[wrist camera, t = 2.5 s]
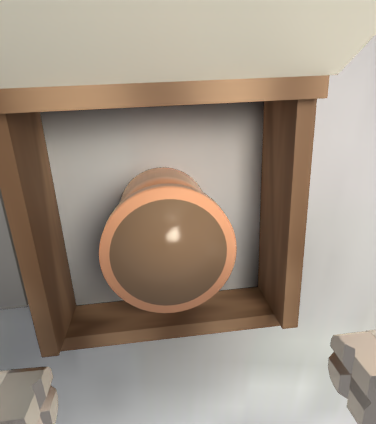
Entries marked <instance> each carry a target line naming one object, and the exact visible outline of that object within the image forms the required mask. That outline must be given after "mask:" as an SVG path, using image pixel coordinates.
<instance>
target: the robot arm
mask: <svg viewBox="0 0 376 424" xmlns="http://www.w3.org/2000/svg"><path fill="white" fill-rule="evenodd" d="M330 346H331V348H332V349H333V351H334V352H333V354H332V355H331V356H330V357H329V360H328V370H329V375H330V379H331V381H332V383H333V386H334V387H335V389H336V390H337V392H338V393H339V394H341V395H342V396H344V397H345V398H347V408H348V410H349V411H350V413H351V414H352V416H353V417H354V419H355V420H356V422H357V424H376V330H369V331H362V332H354V333H346V334H337V335H333V337H332V338H331V343H330ZM52 380H53V374H52V370H51V368H50V367H36V368H24V369H12V370H6V371H0V424H55V422H56V419H57V412H58V395H57V390H56V389H55V388H54V387H52V386H51V382H52Z"/></svg>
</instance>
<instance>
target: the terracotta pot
mask: <svg viewBox="0 0 376 424" xmlns="http://www.w3.org/2000/svg"><path fill="white" fill-rule="evenodd" d="M235 259H236V239H235V234H234V231H233V228H232V225H231V224H230V222H229V220H228V218H227V217H226V215H225V214H224V212H223V211H222V209H221V208H220V207H219V205H218V204H217V203H216V202H215V201H214V200H213V199H212V198H210V197H209V196H208V195H206V194H205V193H203V192H202V190H201V189H200V187H199V185H198V184H197V183H196V182H195V181H194V180H193V179H192V178H191V177H190V176H189V175H187V174H185V173H184V172H182V171H179V170H176V169H173V168H153V169H150V170H147V171H144V172H142V173H141V174H139V175H137V176H136V177H135V178H133V179H132V180H131V181H130V182H129V184H128V185H127V186H126V188H125V190H124V192H123V194H122V196H121V200H120V203H119V204H118V205H117V206H116V208H115V209H114V210H113V212H112V213H111V215H110V216H109V218H108V220H107V222H106V225H105V227H104V230H103V233H102V236H101V240H100V245H99V262H100V266H101V270H102V273H103V275H104V278H105V280H106V281H107V283H108V285H109V286H110V287H111V289H112V290H113V291H114V292H115V293H116V294H117V295H118V296H119V297H120V298H122V299H123V300H124V301H125V302H127V303H129V304H131V305H132V306H135V307H137V308H139V309H142V310H146V311H150V312H155V313H175V312H181V311H185V310H188V309H191V308H194V307H196V306H198V305H200V304H202V303H204V302H206V301H207V300H208V299H210V298H211V297H213V296H214V295H215V294H216V293H217V292H218V291H219V290H220V289H221V288H222V287H223V285H224V284H225V282H226V281H227V280H228V278H229V276H230V274H231V272H232V269H233V267H234V263H235Z"/></svg>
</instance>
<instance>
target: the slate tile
mask: <svg viewBox="0 0 376 424" xmlns="http://www.w3.org/2000/svg"><path fill="white" fill-rule="evenodd" d="M28 304H29V303H28V299H27V295H26V291H25V287H24V283H23V279H22V275H21V271H20V267H19V263H18V259H17V255H16V250H15V246H14V242H13V238H12V234H11V230H10V226H9V222H8V218H7V214H6V210H5V206H4V202H3V197H2V193H1V189H0V310H1V309H11V308H21V307H27V306H28Z"/></svg>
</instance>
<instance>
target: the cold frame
mask: <svg viewBox="0 0 376 424" xmlns="http://www.w3.org/2000/svg"><path fill="white" fill-rule="evenodd" d="M328 85H329V75H322V76H298V77H274V78H249V79H225V80H200V81H176V82H151V83H127V84H102V85H78V86H53V87H29V88H5V89H0V189H1V193H2V197H3V202H4V206H5V210H6V214H7V218H8V222H9V226H10V230H11V234H12V238H13V242H14V246H15V250H16V255H17V259H18V263H19V267H20V271H21V275H22V279H23V283H24V287H25V291H26V295H27V299H28V303H29V307H30V312H31V316H32V320H33V324H34V328H35V332H36V336H37V340H38V344H39V348H40V352H41V356H42V357H49V356H58V355H59V354H60V351H67V350H76V349H85V348H93V347H102V346H110V345H119V344H127V343H136V342H144V341H153V340H161V339H170V338H178V337H187V336H196V335H204V334H213V333H221V332H230V331H238V330H247V329H255V328H264V327H272V326H281V327H282V329H286V328H295V327H298V316H299V304H300V292H301V280H302V268H303V256H304V245H305V233H306V221H307V209H308V197H309V186H310V174H311V162H312V150H313V138H314V126H315V115H316V103H317V99H318V98H327V96H328ZM256 101H264V116H263V146H262V177H261V207H260V237H259V267H258V287H251V288H241V289H232V290H222V291H218V292H217V293H216V294H215V295H214V296H213V297H211V298H210V299H208V300H207V301H206V302H204V303H202V304H200V305H198V306H196V307H194V308H191V309H188V310H185V311H181V312H175V313H155V312H150V311H146V310H142V309H139V308H137V307H135V306H132V305H131V304H129V303H127V302H125V301H117V302H107V303H98V304H88V305H79V306H76V302H75V296H74V291H73V286H72V280H71V275H70V270H69V264H68V259H67V254H66V249H65V243H64V238H63V233H62V227H61V222H60V217H59V211H58V206H57V201H56V195H55V190H54V185H53V179H52V174H51V169H50V163H49V158H48V153H47V147H46V142H45V137H44V131H43V126H42V121H41V115H40V112H47V111H68V110H89V109H110V108H131V107H151V106H172V105H193V104H214V103H235V102H256Z"/></svg>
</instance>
